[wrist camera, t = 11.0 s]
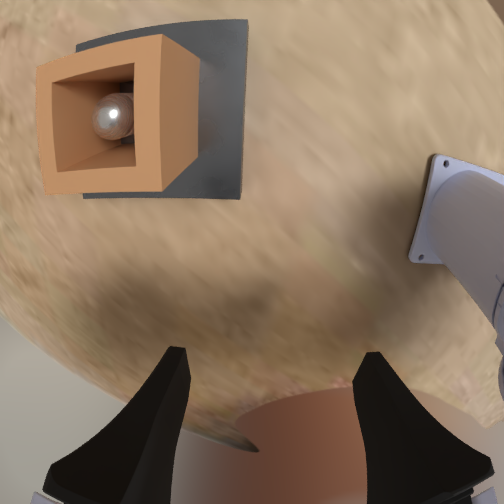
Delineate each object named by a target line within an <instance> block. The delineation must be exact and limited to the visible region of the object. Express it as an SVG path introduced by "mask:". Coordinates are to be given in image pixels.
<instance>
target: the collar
mask: <svg viewBox="0 0 504 504" xmlns="http://www.w3.org/2000/svg"><path fill="white" fill-rule="evenodd" d="M199 70H200V58H199V57H197V56H196V55H194V54H193V53H191V52H190V51H188V50H187V49H185V48H184V47H182V46H181V45H179V44H178V43H176V42H174V41H173V40H171V39H170V38H168V37H167V36H165V35H163V34H157V35H151V36H145V37H139V38H133V39H128V40H123V41H119V42H114V43H110V44H106V45H102V46H98V47H95V48H91V49H87V50H84V51H81V52H77V53H74V54H71V55H68V56H65V57H62V58H59V59H57V60H54V61H51V62H49V63H46V64H43V65H41V66H38V67H37V69H36V119H37V135H38V146H39V155H40V164H41V171H42V178H43V184H44V190H45V195H56V194H74V193H98V192H162V191H163V190H164V189H165V188H166V187H167V186H168V185H169V184H170V183H171V182H172V181H173V180H174V179H175V178H176V177H177V176H178V175H180V174H181V173H182V172H183V171H184V170H185V169H186V168H187V167H188V166H189V165H190V164H191V163H192V162H193V161H194V160H195V159H196V158H198V100H199ZM128 81H134V136H135V143H129V144H121V138H120V139H117V140H107V139H104V138H102V137H100V136H99V135H98V134H97V133H96V132H95V131H94V129H93V127H92V123H91V116H92V112H93V109H94V107H95V105H96V104H97V103H98V102H99V101H100V100H101V99H102V98H103V97H105V96H107V95H109V94H113V93H120V83H121V82H128Z"/></svg>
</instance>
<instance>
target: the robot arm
mask: <svg viewBox="0 0 504 504" xmlns="http://www.w3.org/2000/svg"><path fill="white" fill-rule="evenodd" d="M445 160H446V164H445V166H443V163H444V161H445ZM420 255H422V256H421V257H420V258H419V256H420ZM408 258H409V260H410V261H411V262H413V263H428V264H445V266H446V267H447V268H448V269H449V270H450V271H451V273H452V274H453V275H454V276H455V277H456V279H457V280H458V281H459V282H460V283H461V285H462V286H463V287H464V288H465V290H466V291H467V292H468V293H469V295H470V296H471V297H472V299H473V300H474V301H475V302H476V304H477V305H478V306H479V308H480V309H481V311H482V312H483V313H484V315H485V316H486V317H487V319H488V320H489V322H490V323H491V324H492V326H493V327H494V328H495V330H496V332H497V338H496V341H495V344H496V345H497V347H498V349H499V350H500V352H501V353H502V355H503V357H502V360H501V363H500V367H499V373H498V382H499V389H500V393H501V396H502V399H503V401H504V175H503V174H500V173H497V172H494V171H492V170H489V169H486V168H483V167H480V166H477V165H474V164H471V163H468V162H465V161H462V160H458V159H455V158H452V157H448V156H445V155H441V154H436V155H434V157H433V159H432V164H431V169H430V174H429V179H428V184H427V189H426V193H425V197H424V201H423V206H422V210H421V213H420V217H419V221H418V225H417V228H416V232H415V235H414V239H413V242H412V245H411V249H410V252H409V255H408ZM190 382H191V375H190V370H189V365H188V360H187V354H186V349H185V348H182V347H173V346H170V347H169V348H168V349H167V350H166V352H165V354H164V355H163V357H162V358H161V360H160V362H159V363H158V365H157V366H156V367H155V369H154V370H153V372H152V373H151V375H150V376H149V377H148V379H147V380H146V381H145V383H144V384H143V385H142V387H141V388H140V389H139V391H138V392H137V393H136V394H135V395H134V397H133V398H132V399H131V400H130V401H129V403H128V404H127V405H126V406H125V407H124V408H123V409H122V411H121V412H120V413H119V414H118V415H117V416H116V417H115V418H114V419H113V420H112V421H111V422H110V423H109V424H108V425H107V426H105V427H104V428H103V429H102V430H101V431H100V432H99V433H98V434H96V435H95V436H94V437H93V438H91V439H90V440H89V441H87V442H86V443H85V444H83V445H82V446H81V447H79V448H78V449H76V450H75V451H73V452H72V453H70V454H69V455H67V456H65V457H63V458H62V459H60V460H59V461H57V462H55V463H53V464H52V465H51V466H50V469H49V471H48V473H47V476H46V479H45V482H44V486H43V489H42V490H43V492H45V493H46V494H48V495H50V496H52V497H54V498H55V499H57V500H59V501H61V502H63V503H64V504H170V498H171V484H172V474H173V465H174V457H175V450H176V446H177V441H178V437H179V433H180V429H181V426H182V422H183V418H184V414H185V410H186V406H187V402H188V397H189V390H190ZM352 383H353V393H354V401H355V406H356V410H357V415H358V419H359V423H360V428H361V432H362V436H363V440H364V446H365V452H366V463H367V490H368V491H367V504H498V503H497V499H496V495H495V491H494V487H490V488H489V489H487V490H485V491H483V492H481V493H480V494H478V495H476V496H474V497H472V498H471V496H470V495H471V494H473V492H474V490H473V487H474V486H475V485H477V484H479V483H481V482H482V481H484V480H486V479H488V478H489V477H491V476H492V475H493V474H494V473H495V472H494V469H493V466H492V462H491V459H490V457H488V456H486V455H484V454H482V453H480V452H478V451H477V450H475V449H473V448H472V447H470V446H469V445H467V444H465V443H464V442H462V441H461V440H460V439H458V438H457V437H456V436H454V435H453V434H452V433H451V432H449V431H448V430H447V429H446V428H444V427H443V426H442V425H441V424H440V423H439V422H438V421H437V420H436V419H435V418H434V417H433V416H432V415H431V414H430V413H429V412H428V411H427V410H426V409H425V408H424V407H423V406H422V405H421V404H420V403H419V401H418V400H417V399H416V398H415V397H414V395H413V394H412V393H411V392H410V390H409V389H408V388H407V387H406V385H405V384H404V383H403V382H402V380H401V379H400V378H399V376H398V375H397V374H396V372H395V371H394V370H393V369H392V367H391V366H390V365H389V363H388V362H387V361H386V359H385V358H384V357H383V355H382V354H381V353H380V352H367V353H366V355H365V357H364V359H363V361H362V363H361V365H360V367H359V369H358V371H357V373H356V375H355V377H354V379H353V381H352ZM31 504H60V503H58V502H55V501H53V500H51V499H49V498H47V497H45V496H43V495H41V494H39V493H38V492H34V494H33V497H32V500H31Z"/></svg>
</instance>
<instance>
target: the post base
mask: <svg viewBox="0 0 504 504" xmlns="http://www.w3.org/2000/svg"><path fill="white" fill-rule="evenodd" d="M248 31H249V25H248V20H244V19H231V20H204V21H191V22H180V23H172V24H164V25H157V26H151V27H145V28H140V29H135V30H130V31H125V32H121V33H116V34H112V35H108V36H104V37H101V38H97V39H94V40H90V41H87V42H84V43H80V44H77V45H76V53H77V52H81V51H84V50H87V49H91V48H95V47H98V46H102V45H106V44H110V43H114V42H119V41H123V40H128V39H133V38H139V37H145V36H151V35H157V34H163V35H165V36H167V37H168V38H170V39H171V40H173V41H174V42H176V43H178V44H179V45H181V46H182V47H184V48H185V49H187V50H188V51H190V52H191V53H193V54H194V55H196V56H197V57H199V58H200V70H199V100H198V158H196V159H195V160H194V161H193V162H192V163H191V164H190V165H189V166H188V167H187V168H186V169H185V170H184V171H183V172H182V173H181V174H180V175H178V176H177V177H176V178H175V179H174V180H173V181H172V182H171V183H170V184H169V185H168V186H167V187H166V188H165V189H164V190H163V191H162V192H98V193H83V199H92V198H207V199H236V200H240V198H241V193H242V168H243V141H244V116H245V92H246V70H247V50H248ZM91 123H92V127H93V129H94V131H95V132H96V133H97V134H98V135H99V136H100V137H102V138H104V139H107V140H117V139H120V138H121V144H129V143H135V136H134V81H128V82H121V83H120V93H113V94H109V95H107V96H105V97H103V98H102V99H101V100H100V101H99V102H98V103H97V104H96V105H95V107H94V109H93V112H92V116H91Z"/></svg>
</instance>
